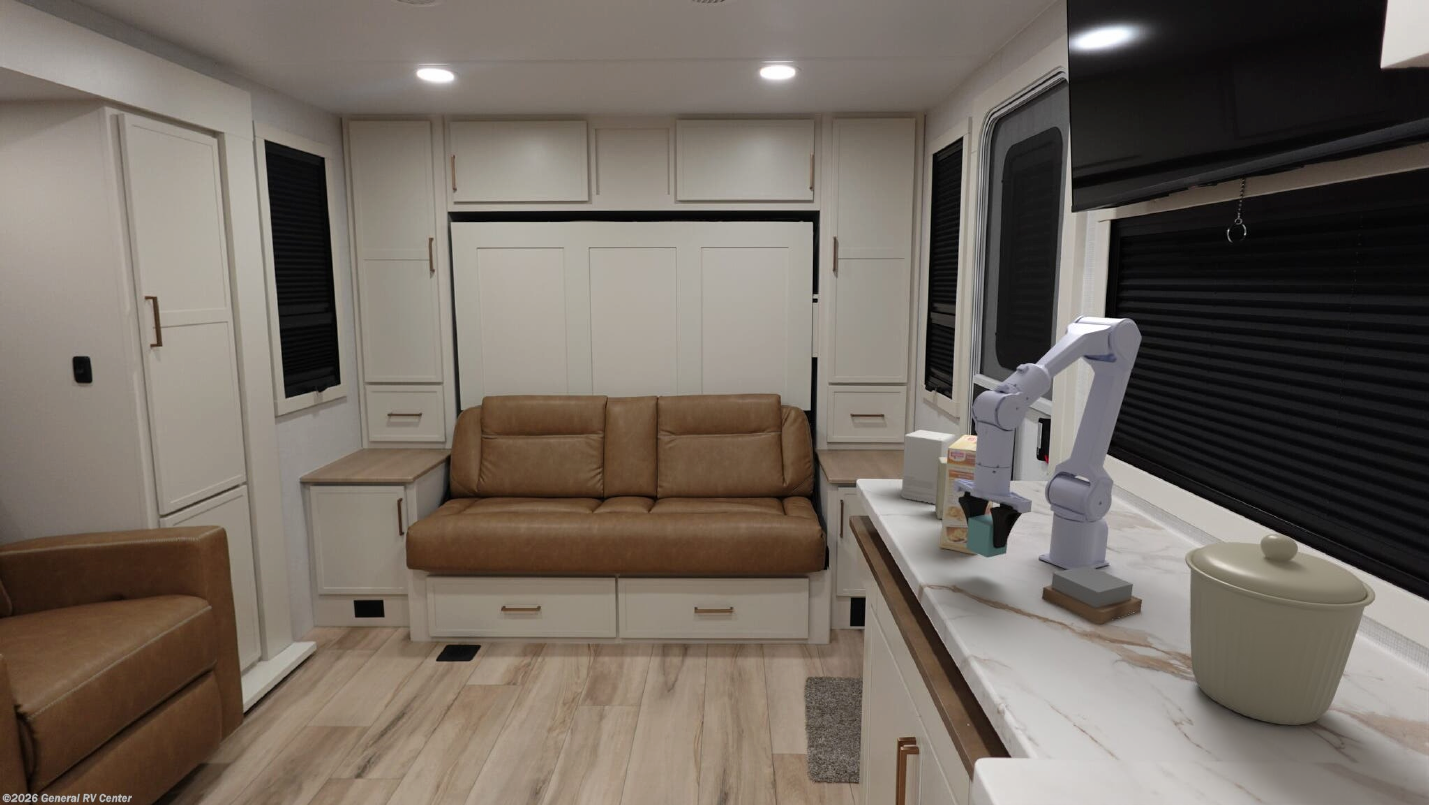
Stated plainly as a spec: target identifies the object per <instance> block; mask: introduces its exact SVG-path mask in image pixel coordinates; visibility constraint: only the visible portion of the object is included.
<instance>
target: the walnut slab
mask: <svg viewBox="0 0 1429 805" xmlns="http://www.w3.org/2000/svg"><path fill="white" fill-rule="evenodd" d="M1051 586H1052V584H1050V585H1047V586H1043V587H1042V597H1041V599H1043V600H1044V601H1047V602H1049V603H1050V604H1051V603H1052V604H1053V605H1056V606H1058V607H1061V608H1062V609H1065V610H1067V611H1069V610H1070V612H1072V613H1074V614H1076V615H1078V616H1080V615H1081V617H1083V618H1085V619H1088V620H1090V621H1092V622H1094V623H1096V624H1098V625H1101V624H1102V625H1103V624H1104V623H1107V622H1111V621H1113V620H1112V619H1114V620H1117V619H1119V618H1118V617H1120V618H1123V617H1122V616H1124V617H1126V616H1125V615H1127V616H1129V615H1128V614H1130V615H1132V614H1131V613H1133V612H1136V613H1138V611H1139V612H1141V610H1142V604H1143V603H1142V602H1143V599H1141V598H1139V597H1136V596H1134V595H1131V599H1130V600H1126V601H1122V602H1118V603H1114V604H1110V605H1106V606H1102V607H1099V608H1095V607H1092V606H1090V605H1088V604H1086V603H1084V602H1082V601H1079V600H1077V599H1075V598H1073V597H1071V596H1068V595H1066V594H1064V593H1062V592H1060V591H1058V590H1055V589H1053V588H1051ZM1133 614H1134V613H1133ZM1116 618H1117V619H1116ZM1110 620H1111V621H1110Z"/></svg>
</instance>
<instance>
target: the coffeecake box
mask: <svg viewBox="0 0 1429 805" xmlns="http://www.w3.org/2000/svg"><path fill="white" fill-rule="evenodd" d="M976 444H977V435H972V434H971V435H970V434H964V435H962V436H961V437H959V438H958V439H957V440H955V443H953V444H952V445H951V446H950V447H948V456H947V468H946V481H945V494H944V506H943V518H942V521H941V534H940V535H941V537H940V545H939V547H940V548H941V549H945V550H951V551H955V552H960V553H965V554H970V555H975V556H977V555H978V554H977V553H975V552H972V551H970V550H968V549H966V547H967V534H968V525H967V521H966V517H965V514H964V512H963V509H962V507H961V505H960V504H959V502H958V499H959V497H963V495H964V492H961V491H960V492H957V491H954V480H956V479H966V480H970V481H974V472H975V458H976ZM992 507H994V502H991V501H989V503H988V505H987V508H986V512H985V515H986V514H988V515H991V512H990V508H992ZM991 516H992V515H991Z"/></svg>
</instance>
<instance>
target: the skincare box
mask: <svg viewBox="0 0 1429 805" xmlns="http://www.w3.org/2000/svg"><path fill="white" fill-rule="evenodd" d="M946 468H947V457H939V461H938V476H937V492H936V504H935V509H934V510H935V515H936V517H937V519H939V520H940V519H942V518H943V506H944V494H945V481H946Z"/></svg>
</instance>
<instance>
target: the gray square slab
mask: <svg viewBox="0 0 1429 805" xmlns="http://www.w3.org/2000/svg"><path fill="white" fill-rule="evenodd" d="M1051 585H1052V586H1051V588H1053V589H1055V590H1058V591H1060V592H1062V593H1064V594H1066V595H1068V596H1071V597H1073V598H1075V599H1077V600H1079V601H1082V602H1084V603H1086V604H1088V605H1090V606H1092V607H1095V608H1099V607H1102V606H1106V605H1110V604H1114V603H1118V602H1122V601H1126V600H1130V599H1131V595H1132V594H1133V586H1134V584H1133V583H1131V582H1129V581H1127V580H1124V579H1122V578H1120V577H1117V576H1115V575H1112V574H1109V573H1107V572H1105V571H1102V570H1100V569H1098V568H1093V567H1090V566H1088V565H1087V566H1082V567H1077V568H1073V569H1068V570H1067V569H1063V570H1059V571H1054V572H1052V578H1051ZM1132 596H1133V595H1132Z"/></svg>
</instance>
